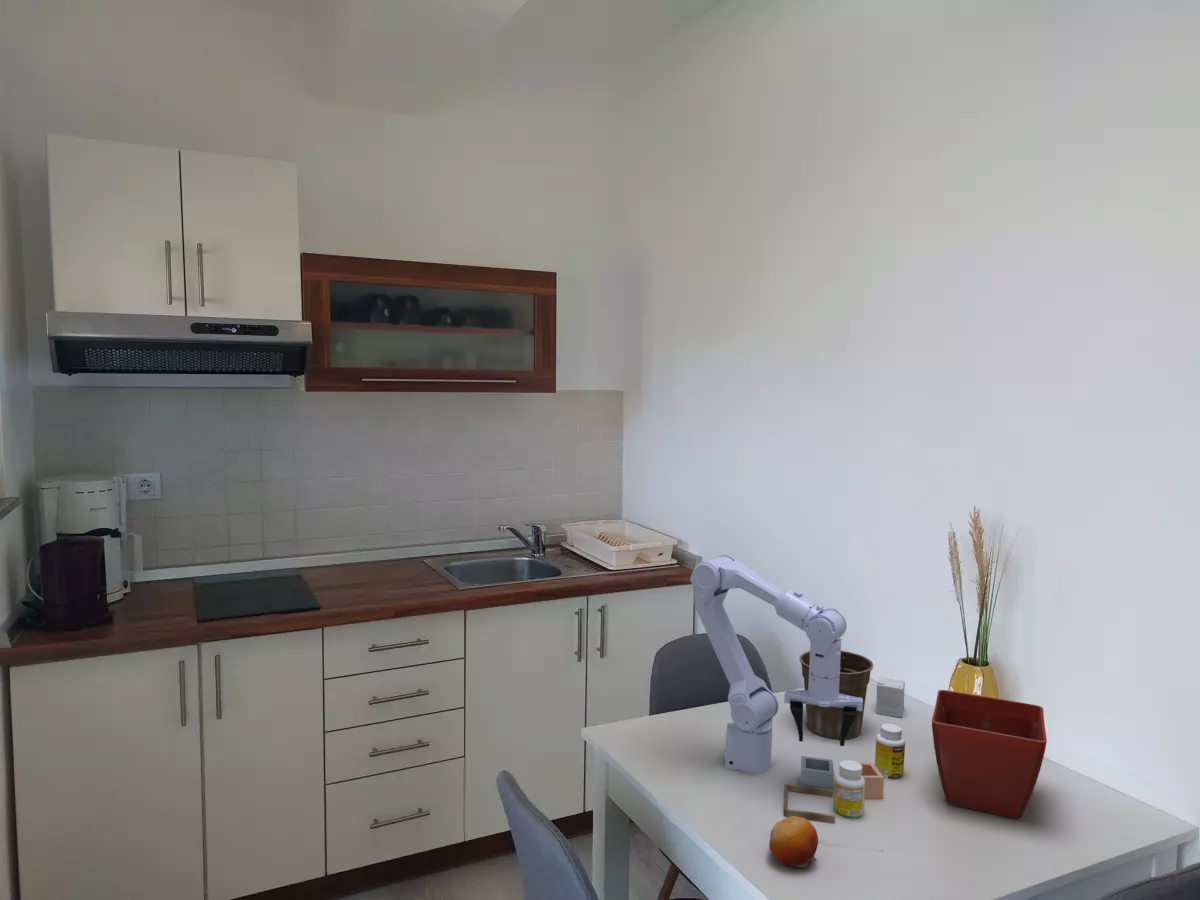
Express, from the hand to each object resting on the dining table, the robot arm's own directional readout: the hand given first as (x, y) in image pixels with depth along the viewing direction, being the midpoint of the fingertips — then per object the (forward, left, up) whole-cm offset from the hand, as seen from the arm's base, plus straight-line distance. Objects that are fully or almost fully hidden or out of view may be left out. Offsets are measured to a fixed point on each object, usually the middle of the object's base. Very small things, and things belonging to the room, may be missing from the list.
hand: (821, 741), depth 160 cm
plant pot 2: (+31, +6, -10) cm, 33 cm away
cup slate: (-1, 0, -10) cm, 10 cm away
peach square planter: (+8, 0, -10) cm, 13 cm away
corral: (-2, -8, -10) cm, 13 cm away
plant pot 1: (+4, +31, -10) cm, 33 cm away
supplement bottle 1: (+5, -8, -10) cm, 14 cm away
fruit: (-5, -25, -10) cm, 27 cm away
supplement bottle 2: (+14, +10, -10) cm, 20 cm away
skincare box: (+18, +45, -10) cm, 50 cm away
